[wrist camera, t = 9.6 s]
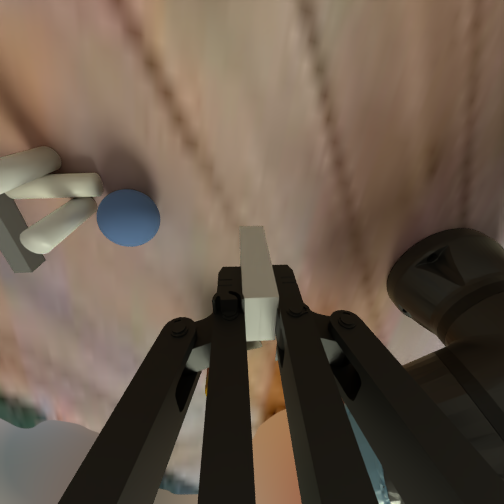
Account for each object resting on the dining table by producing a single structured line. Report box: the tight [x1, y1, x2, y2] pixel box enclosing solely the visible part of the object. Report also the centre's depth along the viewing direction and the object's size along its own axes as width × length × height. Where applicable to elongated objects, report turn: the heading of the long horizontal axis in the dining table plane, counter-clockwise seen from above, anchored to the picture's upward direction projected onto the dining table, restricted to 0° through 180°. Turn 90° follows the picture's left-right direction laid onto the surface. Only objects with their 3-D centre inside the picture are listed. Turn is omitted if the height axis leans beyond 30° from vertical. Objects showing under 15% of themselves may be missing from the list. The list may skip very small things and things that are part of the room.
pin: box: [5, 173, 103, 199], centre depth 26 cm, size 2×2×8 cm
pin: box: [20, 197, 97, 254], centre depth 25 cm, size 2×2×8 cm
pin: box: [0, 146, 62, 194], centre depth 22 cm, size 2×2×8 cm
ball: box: [97, 189, 160, 247], centre depth 26 cm, size 6×6×6 cm
